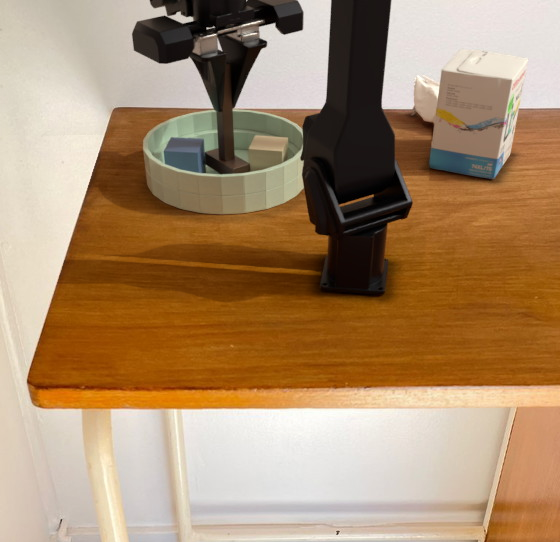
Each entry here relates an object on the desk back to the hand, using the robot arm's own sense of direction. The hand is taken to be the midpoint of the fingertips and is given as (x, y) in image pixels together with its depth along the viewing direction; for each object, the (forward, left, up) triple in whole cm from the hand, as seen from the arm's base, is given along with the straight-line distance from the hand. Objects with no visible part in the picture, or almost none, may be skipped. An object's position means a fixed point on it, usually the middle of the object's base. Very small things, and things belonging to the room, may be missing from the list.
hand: (224, 109), depth 96 cm
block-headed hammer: (0, 0, -7) cm, 7 cm away
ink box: (+10, -29, -9) cm, 32 cm away
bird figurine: (+21, -25, -9) cm, 34 cm away
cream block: (+1, -5, -8) cm, 9 cm away
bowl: (0, 0, -8) cm, 8 cm away
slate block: (-1, +5, -8) cm, 9 cm away
